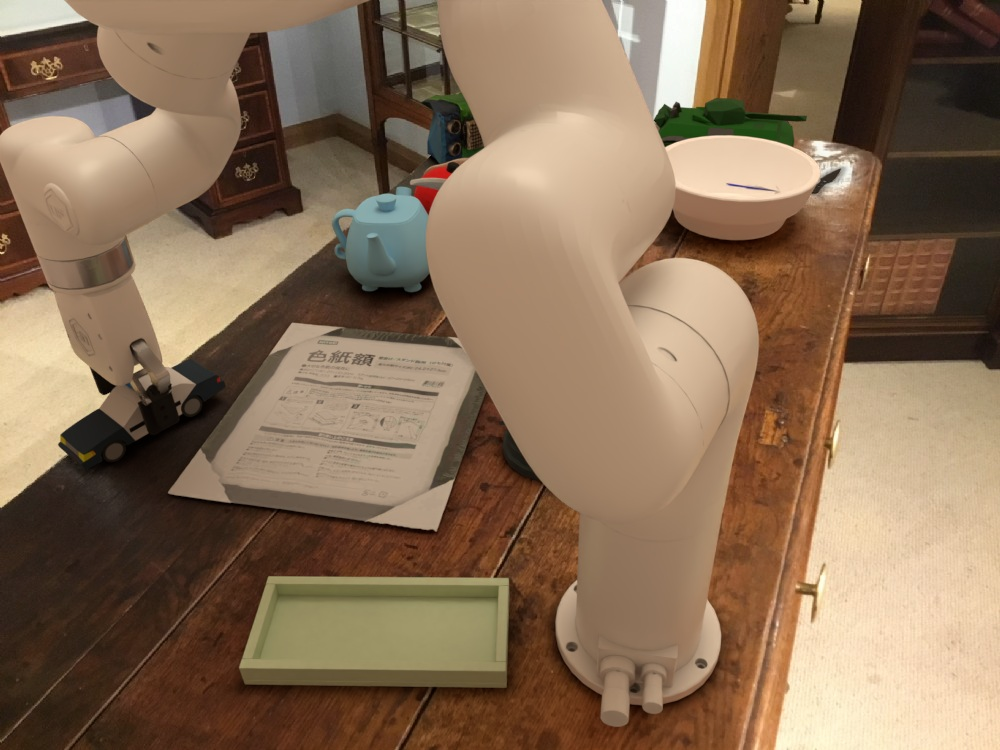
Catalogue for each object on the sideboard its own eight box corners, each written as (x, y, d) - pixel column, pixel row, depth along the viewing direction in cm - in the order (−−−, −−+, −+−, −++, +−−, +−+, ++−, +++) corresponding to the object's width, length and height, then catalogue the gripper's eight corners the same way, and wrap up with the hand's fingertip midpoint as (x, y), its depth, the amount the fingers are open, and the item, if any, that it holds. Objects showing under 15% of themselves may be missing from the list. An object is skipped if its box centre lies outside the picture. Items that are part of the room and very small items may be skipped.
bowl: (782, 273, 110) (793, 213, 105) (622, 234, 119) (626, 178, 114) (828, 206, 125) (840, 151, 120) (683, 176, 135) (688, 125, 130)
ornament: (481, 238, 124) (498, 176, 118) (432, 247, 118) (448, 181, 112) (445, 208, 128) (459, 146, 122) (396, 215, 123) (409, 151, 117)
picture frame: (164, 493, 80) (291, 321, 103) (165, 496, 80) (292, 324, 103) (437, 530, 75) (505, 340, 98) (437, 533, 75) (505, 343, 98)
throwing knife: (816, 194, 128) (804, 190, 129) (816, 195, 128) (803, 191, 130) (847, 168, 135) (835, 165, 137) (847, 169, 136) (835, 166, 137)
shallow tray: (506, 688, 63) (505, 671, 61) (244, 684, 64) (238, 667, 62) (509, 594, 70) (508, 577, 68) (273, 592, 71) (268, 575, 69)
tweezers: (818, 190, 108) (817, 195, 108) (723, 174, 112) (723, 178, 112) (815, 200, 107) (814, 204, 108) (720, 183, 111) (719, 187, 112)
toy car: (64, 457, 85) (44, 418, 82) (203, 379, 94) (190, 342, 91) (87, 478, 82) (68, 439, 79) (228, 396, 91) (216, 358, 88)
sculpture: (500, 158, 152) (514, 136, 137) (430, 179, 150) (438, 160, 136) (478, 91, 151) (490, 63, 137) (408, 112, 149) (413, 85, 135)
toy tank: (795, 187, 130) (806, 122, 124) (644, 172, 136) (648, 111, 130) (800, 149, 142) (810, 89, 137) (662, 137, 149) (666, 80, 143)
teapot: (473, 282, 110) (467, 200, 104) (380, 317, 104) (368, 233, 97) (412, 240, 120) (404, 164, 114) (324, 270, 114) (310, 191, 108)
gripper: (4, 245, 79) (64, 390, 89) (94, 309, 70) (149, 464, 80) (81, 217, 84) (130, 359, 94) (176, 274, 74) (218, 425, 84)
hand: (139, 407), depth 87 cm, fingers open, 9 cm apart
